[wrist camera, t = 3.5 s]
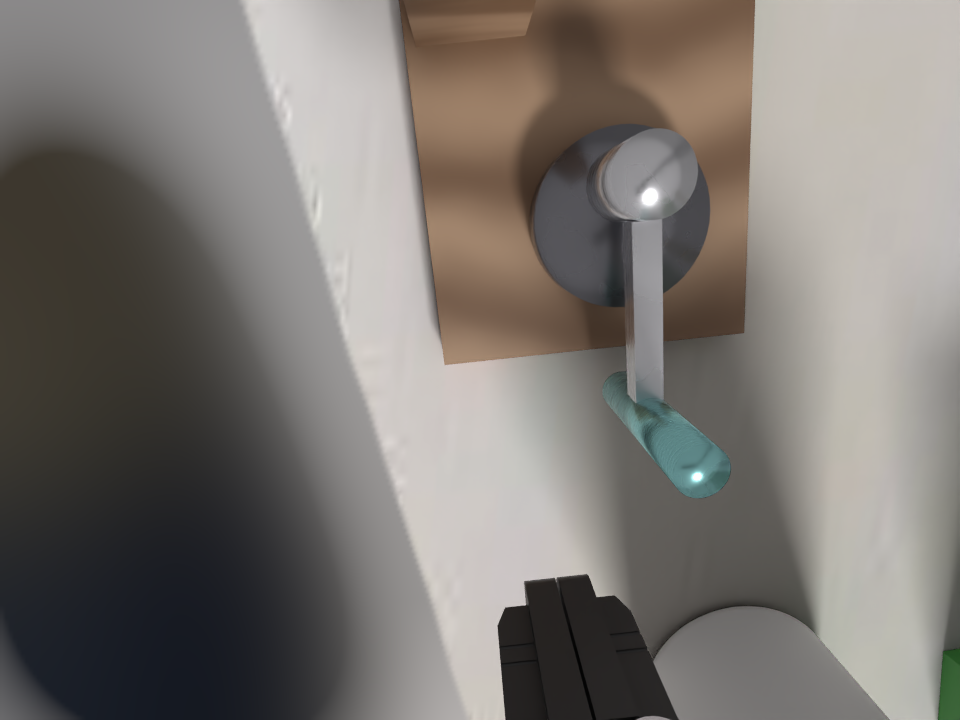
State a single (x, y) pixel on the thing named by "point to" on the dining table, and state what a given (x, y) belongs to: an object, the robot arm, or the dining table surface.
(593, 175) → the lever
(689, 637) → the cylinder vase
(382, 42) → the dining table surface
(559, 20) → the stand
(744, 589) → the dining table surface
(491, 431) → the dining table surface
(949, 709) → the hardback book
